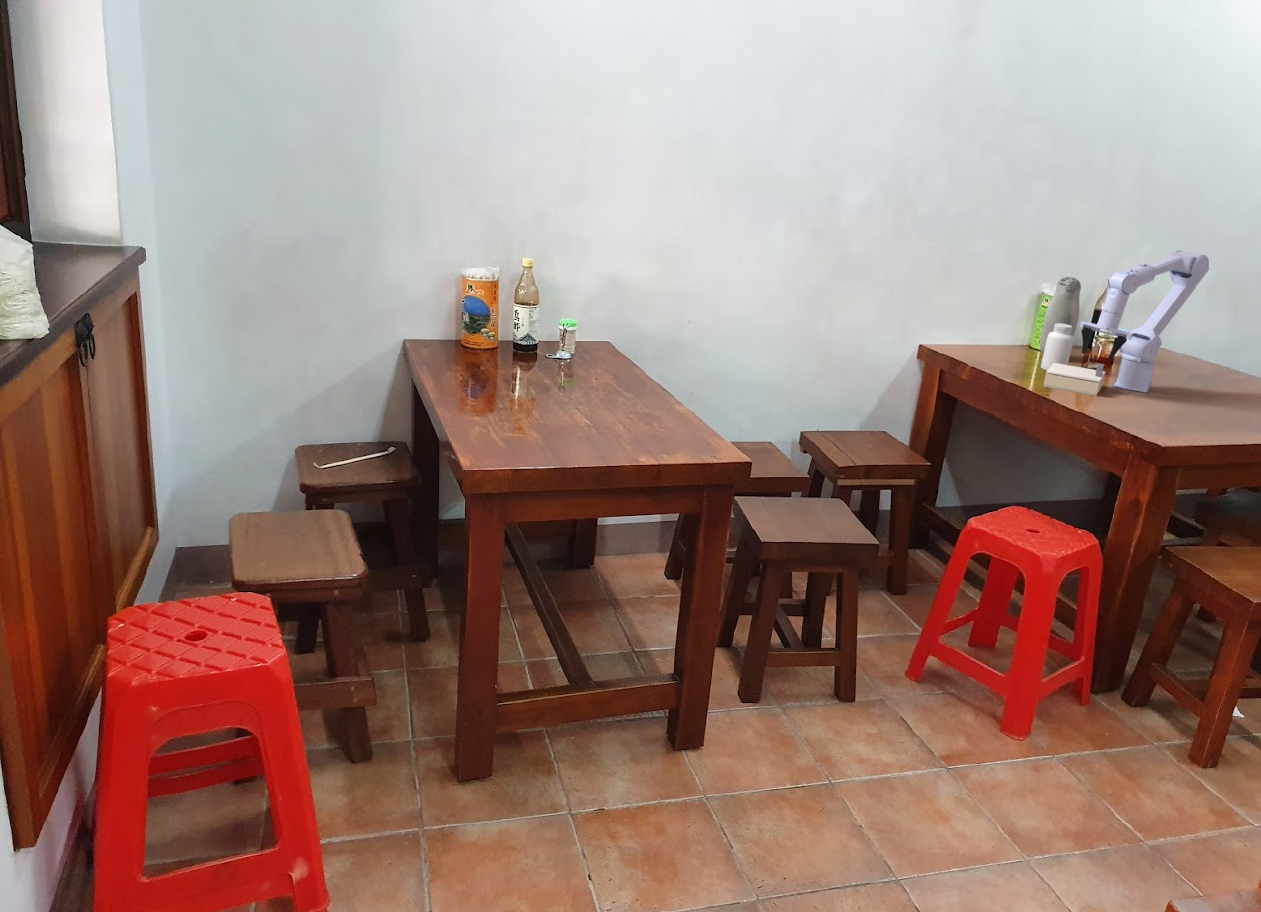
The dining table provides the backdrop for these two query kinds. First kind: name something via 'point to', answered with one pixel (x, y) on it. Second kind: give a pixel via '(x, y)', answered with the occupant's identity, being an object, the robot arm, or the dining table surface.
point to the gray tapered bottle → (1062, 308)
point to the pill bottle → (1058, 346)
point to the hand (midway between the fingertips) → (1096, 356)
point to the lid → (1077, 372)
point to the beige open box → (1073, 384)
